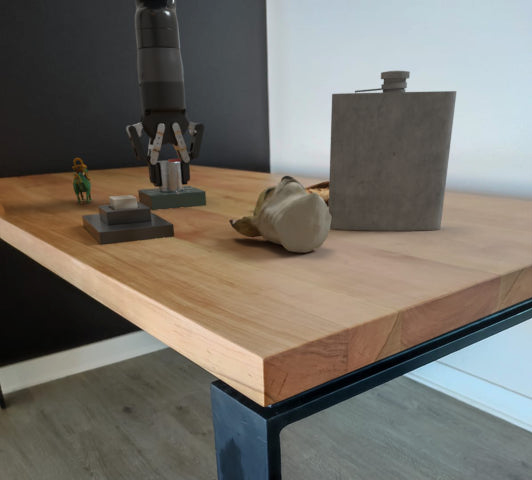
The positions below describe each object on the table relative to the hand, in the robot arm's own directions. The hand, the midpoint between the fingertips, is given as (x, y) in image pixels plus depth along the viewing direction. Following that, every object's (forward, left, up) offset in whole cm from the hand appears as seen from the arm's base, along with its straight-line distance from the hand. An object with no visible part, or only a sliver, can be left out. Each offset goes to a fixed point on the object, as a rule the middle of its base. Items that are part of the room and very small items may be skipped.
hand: (170, 184), depth 99 cm
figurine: (-14, +11, -4) cm, 18 cm away
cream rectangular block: (-13, -20, 0) cm, 24 cm away
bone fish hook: (+21, -14, -4) cm, 26 cm away
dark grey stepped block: (-13, -20, -4) cm, 24 cm away
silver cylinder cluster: (0, 0, -1) cm, 1 cm away
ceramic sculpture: (+3, -39, -4) cm, 39 cm away
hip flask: (+20, -37, -4) cm, 42 cm away
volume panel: (0, 0, -4) cm, 4 cm away
